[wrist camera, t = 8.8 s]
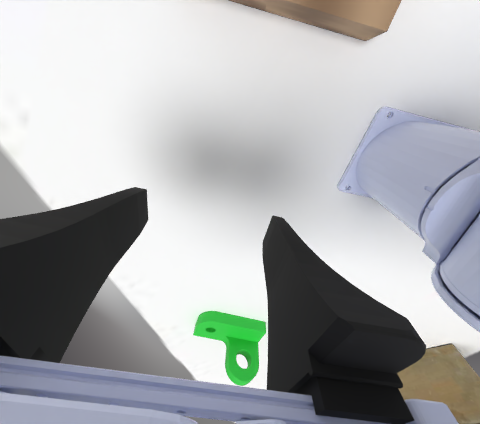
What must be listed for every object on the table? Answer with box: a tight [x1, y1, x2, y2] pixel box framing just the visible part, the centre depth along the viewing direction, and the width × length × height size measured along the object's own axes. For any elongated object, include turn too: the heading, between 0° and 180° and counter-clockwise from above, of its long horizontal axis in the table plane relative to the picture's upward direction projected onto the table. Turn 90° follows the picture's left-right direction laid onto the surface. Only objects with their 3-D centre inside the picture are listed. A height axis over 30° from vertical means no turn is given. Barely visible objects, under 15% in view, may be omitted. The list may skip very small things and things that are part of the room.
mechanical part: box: [193, 311, 266, 386], centre depth 32 cm, size 12×6×8 cm, turn 72°
